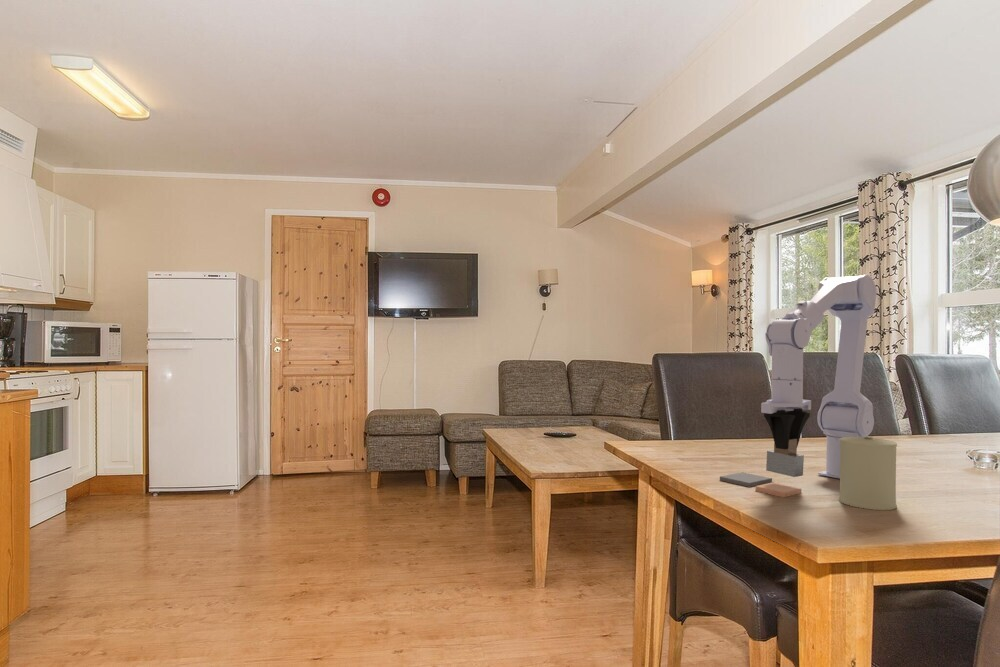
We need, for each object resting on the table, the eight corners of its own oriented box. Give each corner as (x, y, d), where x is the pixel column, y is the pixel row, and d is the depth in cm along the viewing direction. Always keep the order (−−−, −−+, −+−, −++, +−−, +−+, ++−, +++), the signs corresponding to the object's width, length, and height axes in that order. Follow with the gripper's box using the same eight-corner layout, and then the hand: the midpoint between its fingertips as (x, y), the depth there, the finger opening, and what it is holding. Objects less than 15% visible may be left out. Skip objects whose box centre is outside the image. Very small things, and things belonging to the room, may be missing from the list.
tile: (772, 482, 128) (755, 486, 124) (801, 488, 123) (784, 492, 119) (772, 489, 128) (755, 493, 124) (801, 495, 123) (784, 499, 119)
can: (895, 501, 117) (896, 437, 117) (897, 513, 109) (898, 444, 109) (839, 494, 122) (840, 432, 122) (837, 505, 114) (838, 439, 114)
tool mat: (742, 475, 138) (742, 472, 138) (772, 482, 132) (772, 478, 132) (719, 480, 133) (719, 476, 133) (749, 486, 127) (749, 483, 127)
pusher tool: (774, 468, 129) (776, 434, 129) (802, 475, 124) (804, 440, 124) (766, 470, 127) (767, 436, 127) (794, 477, 122) (796, 441, 122)
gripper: (788, 377, 133) (787, 441, 133) (747, 379, 124) (746, 447, 124) (821, 379, 127) (820, 446, 127) (780, 381, 119) (780, 453, 119)
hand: (786, 447), depth 125 cm, fingers closed on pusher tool, 3 cm apart
